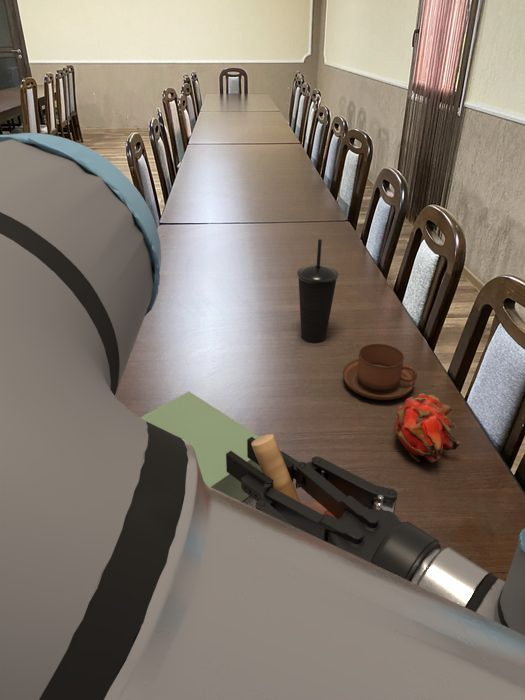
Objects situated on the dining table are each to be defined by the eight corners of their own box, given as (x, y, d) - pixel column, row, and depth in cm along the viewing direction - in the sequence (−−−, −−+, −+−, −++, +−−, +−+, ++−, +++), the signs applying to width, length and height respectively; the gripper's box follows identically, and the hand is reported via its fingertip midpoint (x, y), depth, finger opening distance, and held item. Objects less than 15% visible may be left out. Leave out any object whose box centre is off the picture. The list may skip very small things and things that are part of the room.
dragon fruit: (414, 425, 85) (429, 489, 76) (375, 402, 82) (385, 464, 73) (456, 396, 81) (477, 459, 72) (416, 369, 78) (433, 432, 69)
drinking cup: (299, 348, 102) (305, 249, 92) (289, 329, 109) (293, 234, 98) (338, 344, 104) (347, 246, 93) (326, 326, 110) (333, 231, 100)
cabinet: (270, 483, 72) (271, 444, 69) (200, 537, 65) (197, 496, 61) (191, 428, 82) (188, 390, 78) (123, 468, 74) (116, 429, 71)
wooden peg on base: (343, 527, 60) (302, 422, 58) (297, 572, 55) (250, 458, 53) (312, 522, 63) (272, 423, 62) (265, 563, 58) (221, 457, 56)
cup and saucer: (408, 368, 97) (413, 338, 94) (417, 409, 87) (424, 377, 83) (341, 364, 98) (344, 335, 95) (342, 404, 88) (346, 372, 84)
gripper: (367, 669, 45) (188, 515, 59) (456, 555, 54) (284, 445, 68) (378, 615, 41) (183, 464, 55) (471, 502, 50) (285, 398, 64)
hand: (239, 454), depth 61 cm, fingers closed on wooden peg on base, 3 cm apart
